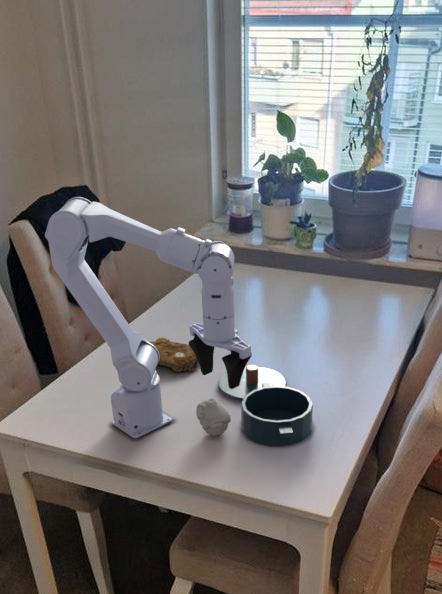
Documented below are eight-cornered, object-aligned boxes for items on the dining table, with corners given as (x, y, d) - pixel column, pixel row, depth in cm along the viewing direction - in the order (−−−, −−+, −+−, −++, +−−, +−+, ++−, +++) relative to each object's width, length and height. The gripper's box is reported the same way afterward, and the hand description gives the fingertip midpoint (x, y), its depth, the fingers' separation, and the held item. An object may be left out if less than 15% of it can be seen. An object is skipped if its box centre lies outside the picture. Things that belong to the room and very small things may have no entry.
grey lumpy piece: (209, 420, 134) (207, 390, 131) (238, 431, 131) (237, 400, 127) (190, 435, 130) (188, 404, 127) (220, 446, 127) (219, 414, 123)
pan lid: (278, 368, 152) (278, 349, 150) (291, 400, 140) (292, 380, 138) (215, 373, 151) (214, 355, 148) (223, 406, 139) (222, 386, 136)
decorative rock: (130, 365, 156) (185, 381, 150) (128, 350, 154) (184, 366, 148) (157, 343, 164) (210, 358, 158) (155, 328, 161) (210, 342, 155)
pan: (299, 400, 140) (300, 376, 137) (321, 451, 125) (323, 426, 122) (235, 405, 139) (235, 382, 136) (250, 458, 123) (250, 433, 120)
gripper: (263, 318, 118) (262, 385, 126) (208, 296, 127) (210, 360, 135) (234, 330, 114) (235, 399, 122) (179, 307, 123) (183, 372, 131)
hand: (220, 379), depth 128 cm, fingers open, 7 cm apart
